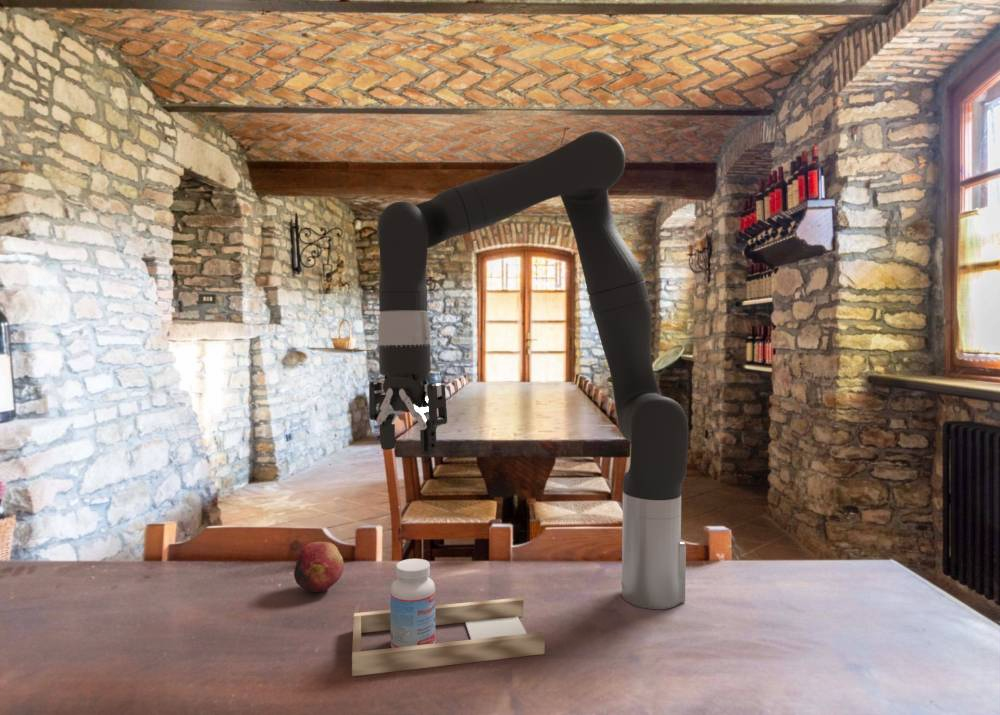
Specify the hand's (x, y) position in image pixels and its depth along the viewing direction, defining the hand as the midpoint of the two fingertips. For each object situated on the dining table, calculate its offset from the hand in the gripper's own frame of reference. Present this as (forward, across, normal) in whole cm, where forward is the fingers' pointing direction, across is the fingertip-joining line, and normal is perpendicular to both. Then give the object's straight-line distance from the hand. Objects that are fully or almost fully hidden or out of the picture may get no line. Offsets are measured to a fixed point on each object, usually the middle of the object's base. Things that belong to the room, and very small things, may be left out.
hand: (407, 451), depth 88 cm
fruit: (+25, +20, +3) cm, 32 cm away
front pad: (+26, -13, -4) cm, 29 cm away
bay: (+26, -8, +2) cm, 27 cm away
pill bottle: (+26, -6, +5) cm, 27 cm away
